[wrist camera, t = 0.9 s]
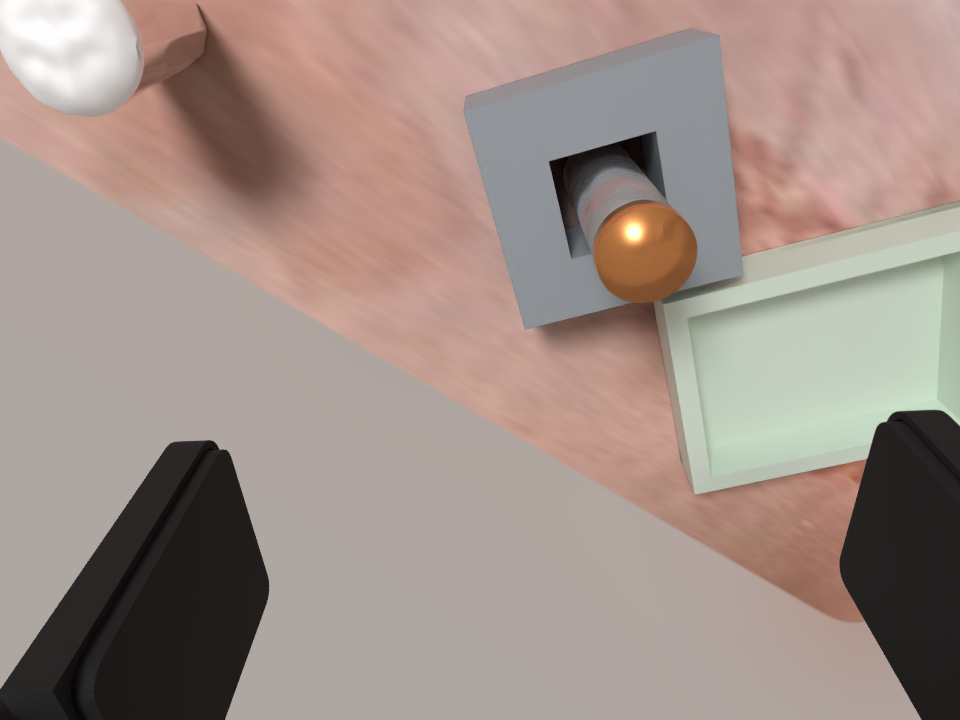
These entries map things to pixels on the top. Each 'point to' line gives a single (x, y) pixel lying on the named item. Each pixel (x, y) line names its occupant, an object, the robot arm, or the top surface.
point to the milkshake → (98, 48)
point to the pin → (629, 226)
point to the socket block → (598, 122)
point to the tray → (814, 349)
